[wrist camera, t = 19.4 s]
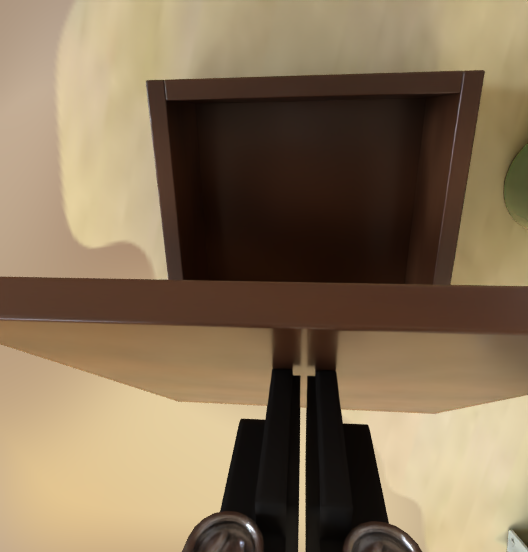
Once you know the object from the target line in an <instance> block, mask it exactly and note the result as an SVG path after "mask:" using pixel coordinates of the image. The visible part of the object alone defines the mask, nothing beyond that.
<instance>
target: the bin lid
mask: <svg viewBox="0 0 528 552" xmlns="http://www.w3.org/2000/svg"><path fill="white" fill-rule="evenodd" d="M0 344H1V345H4V346H7V347H11V348H14V349H17V350H20V351H23V352H26V353H29V354H32V355H35V356H39V357H42V358H45V359H48V360H51V361H54V362H57V363H60V364H63V365H66V366H70V367H73V368H76V369H79V370H82V371H86V372H88V373H91V374H95V375H98V376H101V377H104V378H107V379H110V380H114V381H116V382H119V383H123V384H126V385H129V386H132V387H135V388H138V389H141V390H144V391H147V392H151V393H154V394H157V395H160V396H163V397H166V398H169V399H172V400H175V401H178V402H199V403H220V404H241V405H261V406H267V405H268V397H269V389H270V382H271V374H272V369H290V370H293V375H301V381H300V407H303V408H307V376H315V370H317V371H336V373H337V381H338V389H339V398H340V406H341V409H345V410H366V411H387V412H408V413H429V414H435V413H440V412H445V411H450V410H455V409H460V408H465V407H470V406H475V405H480V404H485V403H490V402H495V401H500V400H505V399H510V398H515V397H520V396H525V395H528V286H477V285H423V284H368V283H314V282H260V281H205V280H151V279H145V280H144V279H95V278H93V279H92V278H42V277H40V278H39V277H0Z"/></svg>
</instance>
